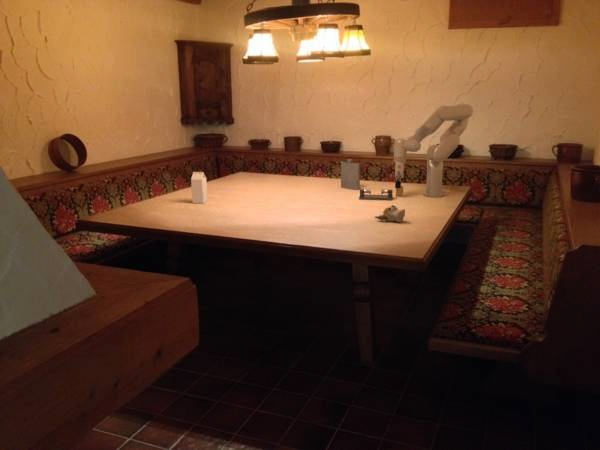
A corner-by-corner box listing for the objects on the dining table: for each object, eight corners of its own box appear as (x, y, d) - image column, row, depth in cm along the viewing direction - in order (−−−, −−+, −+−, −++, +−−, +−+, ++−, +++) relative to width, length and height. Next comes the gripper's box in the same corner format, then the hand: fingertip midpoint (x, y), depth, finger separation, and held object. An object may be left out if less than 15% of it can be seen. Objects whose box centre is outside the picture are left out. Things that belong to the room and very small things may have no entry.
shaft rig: (392, 197, 330) (392, 187, 328) (392, 200, 321) (392, 190, 320) (360, 196, 334) (360, 187, 332) (359, 199, 326) (359, 189, 324)
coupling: (403, 195, 335) (403, 185, 333) (402, 196, 331) (403, 186, 329) (396, 195, 336) (396, 184, 334) (395, 196, 332) (396, 186, 330)
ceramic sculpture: (399, 208, 264) (373, 206, 273) (400, 224, 266) (374, 222, 275) (409, 204, 272) (383, 202, 282) (409, 220, 274) (384, 218, 283)
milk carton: (203, 203, 323) (201, 173, 318) (192, 203, 324) (190, 172, 320) (207, 201, 330) (205, 171, 325) (197, 201, 331) (195, 170, 326)
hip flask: (360, 189, 356) (360, 160, 351) (356, 190, 353) (356, 160, 348) (343, 186, 367) (343, 157, 362) (339, 187, 365) (339, 158, 359)
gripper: (405, 161, 318) (403, 189, 323) (406, 157, 335) (404, 184, 339) (393, 160, 320) (391, 188, 324) (394, 157, 336) (392, 183, 341)
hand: (397, 186), depth 332 cm, fingers open, 9 cm apart
